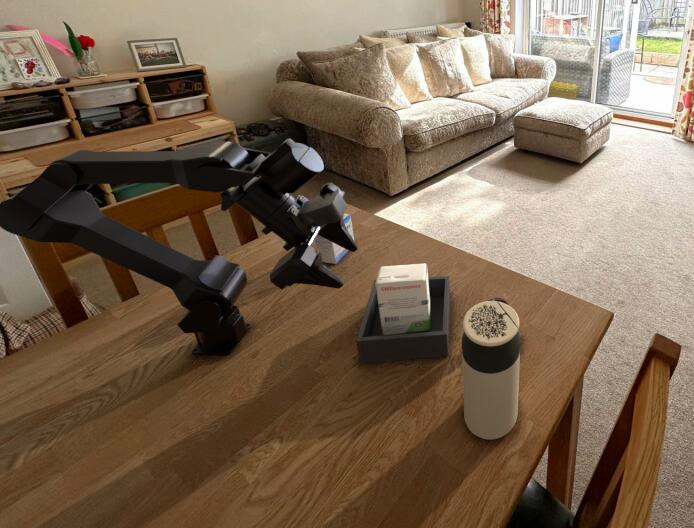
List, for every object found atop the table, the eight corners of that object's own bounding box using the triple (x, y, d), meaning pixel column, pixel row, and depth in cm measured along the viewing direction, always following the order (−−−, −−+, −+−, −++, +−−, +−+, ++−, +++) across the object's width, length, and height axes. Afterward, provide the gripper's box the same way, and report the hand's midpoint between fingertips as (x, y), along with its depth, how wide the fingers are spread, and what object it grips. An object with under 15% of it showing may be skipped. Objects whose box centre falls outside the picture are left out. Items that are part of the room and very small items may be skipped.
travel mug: (474, 450, 55) (472, 354, 49) (457, 399, 62) (453, 308, 55) (526, 427, 58) (531, 333, 52) (505, 381, 65) (507, 292, 58)
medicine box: (335, 265, 90) (330, 232, 87) (318, 262, 91) (311, 229, 88) (355, 244, 97) (350, 213, 94) (338, 242, 98) (333, 211, 95)
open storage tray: (359, 363, 67) (356, 341, 65) (376, 300, 81) (374, 280, 79) (448, 356, 69) (447, 334, 67) (450, 295, 82) (449, 275, 81)
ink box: (431, 311, 78) (428, 261, 73) (430, 331, 73) (426, 280, 69) (385, 315, 76) (379, 265, 72) (381, 336, 72) (374, 284, 67)
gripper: (287, 212, 54) (372, 281, 60) (330, 154, 71) (393, 211, 77) (230, 257, 56) (317, 319, 61) (286, 189, 73) (350, 243, 78)
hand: (349, 267), depth 69 cm, fingers open, 9 cm apart
